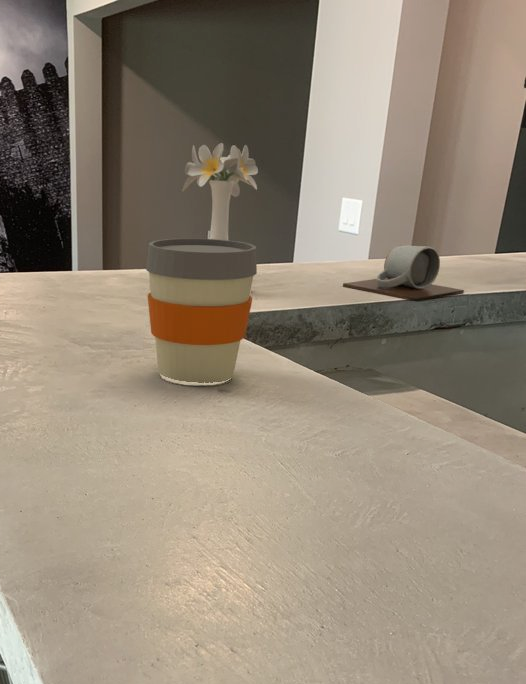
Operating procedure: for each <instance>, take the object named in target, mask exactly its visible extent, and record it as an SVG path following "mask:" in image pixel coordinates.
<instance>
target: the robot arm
mask: <svg viewBox="0 0 526 684" xmlns="http://www.w3.org/2000/svg"><path fill="white" fill-rule="evenodd" d="M523 88H524V89H526V77H524V83H523ZM520 128H521V129H526V105H525V107H524V113H523V116H522V120H521V126H520Z"/></svg>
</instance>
